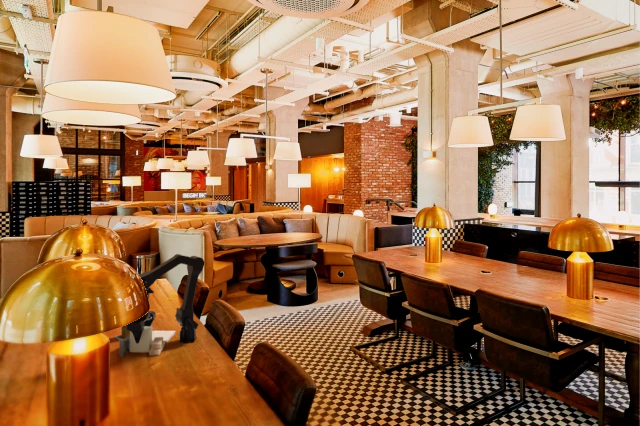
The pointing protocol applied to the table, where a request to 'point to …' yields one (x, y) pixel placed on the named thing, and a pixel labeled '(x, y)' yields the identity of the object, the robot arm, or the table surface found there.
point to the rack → (124, 346)
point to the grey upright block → (142, 341)
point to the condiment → (123, 333)
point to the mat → (163, 335)
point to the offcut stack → (157, 346)
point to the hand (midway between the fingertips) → (141, 339)
